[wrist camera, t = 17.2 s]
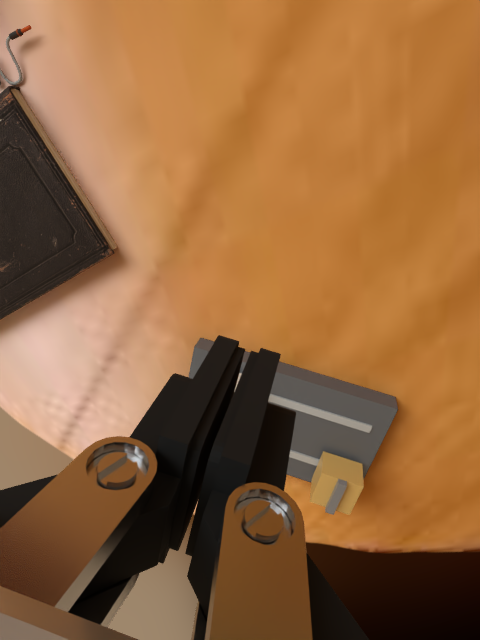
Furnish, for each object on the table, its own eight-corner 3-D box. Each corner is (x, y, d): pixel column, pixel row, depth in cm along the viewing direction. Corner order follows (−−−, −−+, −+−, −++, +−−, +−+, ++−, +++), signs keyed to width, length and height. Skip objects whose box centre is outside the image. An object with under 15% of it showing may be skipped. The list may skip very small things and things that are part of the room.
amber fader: (362, 463, 41) (364, 491, 38) (349, 491, 43) (349, 520, 40) (323, 451, 42) (321, 477, 39) (311, 478, 44) (309, 506, 41)
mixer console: (395, 397, 40) (398, 410, 38) (354, 482, 46) (354, 498, 44) (200, 337, 42) (193, 347, 41) (183, 426, 48) (176, 439, 46)
